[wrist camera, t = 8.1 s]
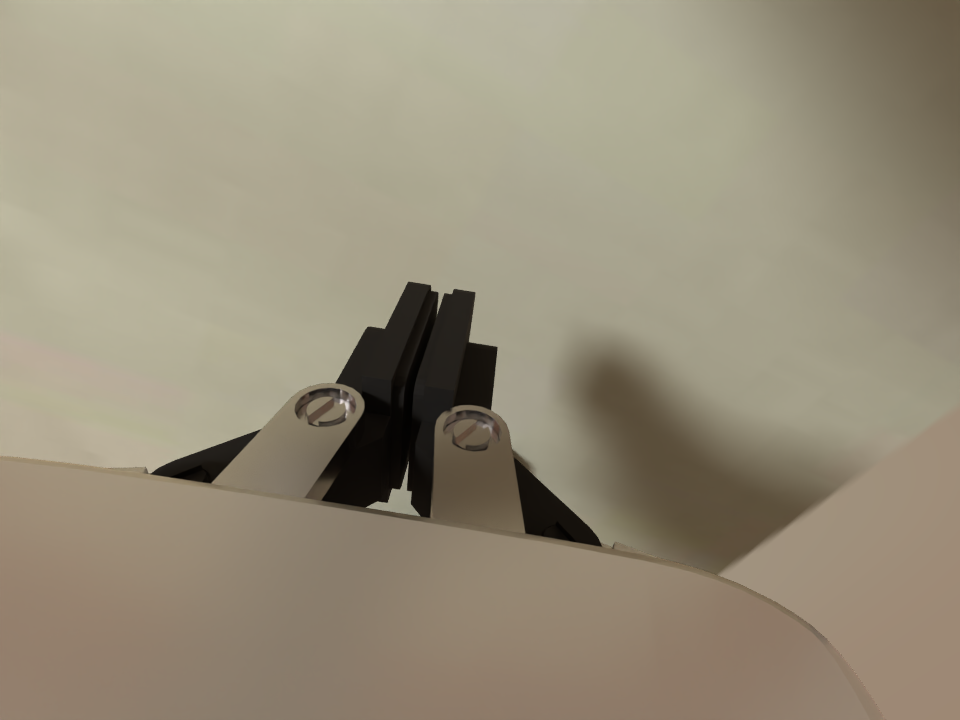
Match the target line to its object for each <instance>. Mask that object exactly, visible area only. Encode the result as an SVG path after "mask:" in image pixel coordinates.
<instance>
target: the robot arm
mask: <svg viewBox="0 0 960 720" xmlns="http://www.w3.org/2000/svg"><path fill="white" fill-rule="evenodd" d="M474 300H475V292H470V291H464V290H457V289H454V290H453V293H452V294H446V293H445V294H444V296H443V299H442V302H441V305H440V308H439V311H438V314H437V306H438V292H434V291H431V285H426V284H420V283H414V282H408V283H407V285H406V287H405V290H404V292H403V294H402V296H401V298H400V300H399V302H398V304H397V306H396V308H395V310H394V312H393V314H392V316H391V318H390V320H389V322H388V324H387V326H386V328H385V329H382V328H376V327H367V329H366V330H365V332H364V333H363V335H362V337H361V339H360V340H359V342H358V344H357V346H356V348H355V349H354V351H353V353H352V355H351V357H350V358H349V360H348V362H347V364H346V365H345V367H344V369H343V371H342V373H341V374H340V376H339V378H338V380H337V381H336V383H322V384H317V385H313V386H309V387H307V388H305V389H302V390H300V391H299V392H297V393H296V394H295V395H294V396H292V397H291V398H290V399H289V400H288V402H287V403H286V404H285V405H284V406H283V407H282V408H281V409H280V410H279V411H278V412H277V413H276V414H275V416H274V417H273V418H272V419H271V420H270V421H269V422H268V423H267V424H266V425H265V426H264V427H263V428H262V429H261V430H258V431H255V432H252V433H249V434H247V435H244V436H241V437H238V438H236V439H233V440H230V441H227V442H225V443H222V444H219V445H216V446H213V447H211V448H208V449H205V450H202V451H200V452H197V453H194V454H191V455H189V456H186V457H183V458H180V459H178V460H175V461H172V462H170V463H168V464H166V465H164V466H162V467H159V468H158V469H157V470H155V471H154V472H152V473H148V471H147V469H146V467H133V468H101V467H94V466H87V465H80V464H72V463H64V462H55V461H46V460H37V459H29V458H20V457H8V456H0V720H885V718H884V716H883V715H882V713H881V712H880V710H879V708H878V707H877V705H876V704H875V702H874V700H873V698H872V697H871V695H870V694H869V692H868V691H867V689H866V688H865V686H864V685H863V683H862V682H861V680H860V679H859V678H858V676H857V675H856V673H855V672H854V671H853V669H852V668H851V667H850V665H849V664H848V663H847V662H846V660H845V659H844V658H843V656H842V655H841V654H840V653H839V652H838V651H837V650H836V649H835V648H834V646H833V645H832V644H831V643H830V642H829V641H828V640H827V639H826V638H825V637H824V636H823V635H822V634H820V633H819V632H818V631H817V630H816V629H815V628H814V627H813V626H811V625H810V624H809V623H807V622H806V621H804V620H803V619H801V618H800V617H799V616H797V615H796V614H794V613H793V612H791V611H789V610H788V609H786V608H785V607H783V606H781V605H780V604H778V603H776V602H774V601H773V600H771V599H768V598H767V597H765V596H763V595H760V594H758V593H757V592H754V591H753V590H751V589H749V588H747V587H745V586H743V585H740V584H738V583H736V582H733V581H730V580H728V579H725V578H723V577H720V576H718V575H715V574H712V573H710V572H707V571H705V570H701V569H698V568H694V567H691V566H687V565H684V564H680V563H677V562H673V561H669V560H664V559H662V558H659V557H656V556H654V555H651V554H648V553H645V552H643V551H640V550H637V549H634V548H632V547H629V546H626V545H623V544H621V543H618V542H615V543H614V545H613V547H611V546H609V545H606V544H603V543H600V541H599V539H598V537H597V536H596V534H595V533H594V532H593V531H592V530H591V529H590V527H589V526H588V525H587V524H585V523H584V522H583V521H582V520H581V519H580V518H579V517H578V516H577V515H576V514H575V513H574V512H572V511H571V510H570V509H569V508H568V507H567V506H566V505H565V504H564V503H563V502H562V501H561V500H560V499H558V498H557V497H556V496H555V495H554V494H553V493H552V492H551V491H550V490H549V489H548V488H547V487H546V486H544V485H543V484H542V483H541V482H540V481H539V480H538V479H537V478H536V477H535V476H534V475H533V474H531V473H530V472H529V471H528V470H527V469H526V468H525V467H524V466H523V465H522V464H521V463H520V462H519V461H517V460H516V459H515V458H514V457H513V452H512V446H511V439H510V433H509V430H508V427H507V424H506V423H505V422H504V420H503V419H502V418H501V417H500V416H499V415H497V414H496V413H494V412H493V411H491V406H492V396H493V386H494V377H495V367H496V358H497V347H495V346H488V345H482V344H476V343H470V342H469V336H470V329H471V322H472V315H473V307H474ZM408 461H409V468H408V483H407V491H412V497H411V505H412V506H413V507H414V508H415V510H416V511H417V512H418V513H419V515H420V516H421V517H420V516H414V515H408V514H401V513H395V512H389V511H382V510H376V509H370V508H366V507H367V506H369V505H371V504H373V503H375V502H377V501H379V502H385V503H388V500H389V496H390V493H391V490H392V488H394V489H400V488H401V486H402V482H403V479H404V475H405V472H406V468H407V465H408Z"/></svg>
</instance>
